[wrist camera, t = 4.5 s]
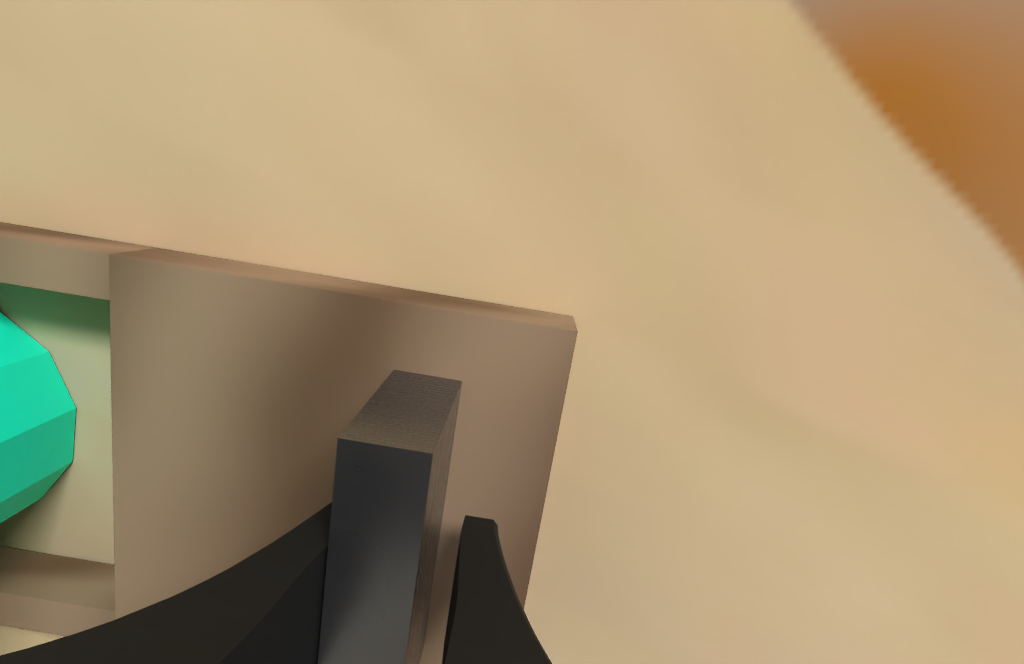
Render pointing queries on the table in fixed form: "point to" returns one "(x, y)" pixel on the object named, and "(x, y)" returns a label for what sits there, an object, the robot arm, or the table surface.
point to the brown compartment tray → (298, 437)
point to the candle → (31, 421)
